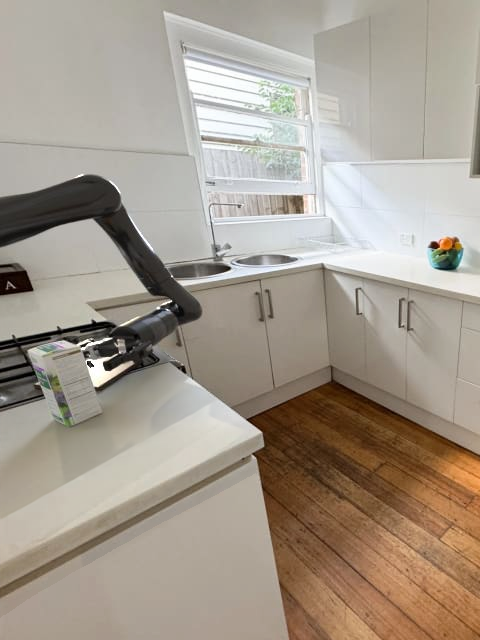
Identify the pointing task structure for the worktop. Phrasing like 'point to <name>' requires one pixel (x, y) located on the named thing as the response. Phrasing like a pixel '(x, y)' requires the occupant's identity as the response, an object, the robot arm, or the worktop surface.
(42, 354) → the syrup box
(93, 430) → the worktop surface
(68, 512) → the worktop surface
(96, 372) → the walnut board
